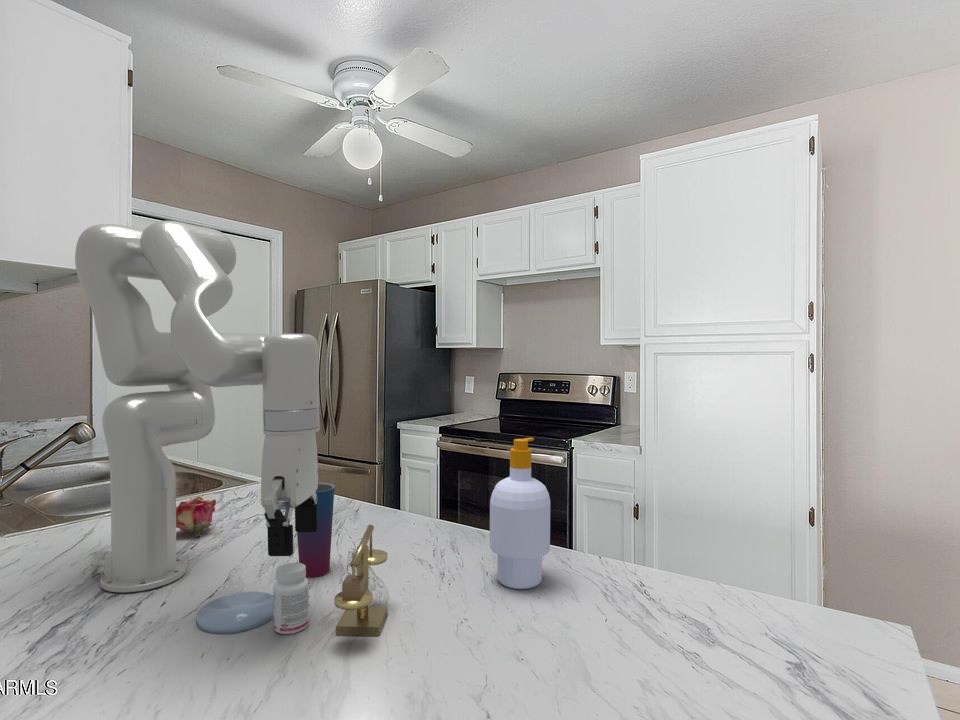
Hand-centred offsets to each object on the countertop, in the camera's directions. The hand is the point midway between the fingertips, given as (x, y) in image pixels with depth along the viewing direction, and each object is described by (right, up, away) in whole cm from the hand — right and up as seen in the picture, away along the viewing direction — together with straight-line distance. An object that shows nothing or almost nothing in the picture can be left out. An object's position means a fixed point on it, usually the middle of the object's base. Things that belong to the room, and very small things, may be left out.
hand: (294, 542), depth 78 cm
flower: (-34, -11, +39) cm, 53 cm away
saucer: (-10, -12, +4) cm, 16 cm away
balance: (+9, -12, +1) cm, 15 cm away
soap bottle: (+33, -12, +16) cm, 39 cm away
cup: (-3, -12, +20) cm, 23 cm away
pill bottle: (-1, -12, +1) cm, 12 cm away
